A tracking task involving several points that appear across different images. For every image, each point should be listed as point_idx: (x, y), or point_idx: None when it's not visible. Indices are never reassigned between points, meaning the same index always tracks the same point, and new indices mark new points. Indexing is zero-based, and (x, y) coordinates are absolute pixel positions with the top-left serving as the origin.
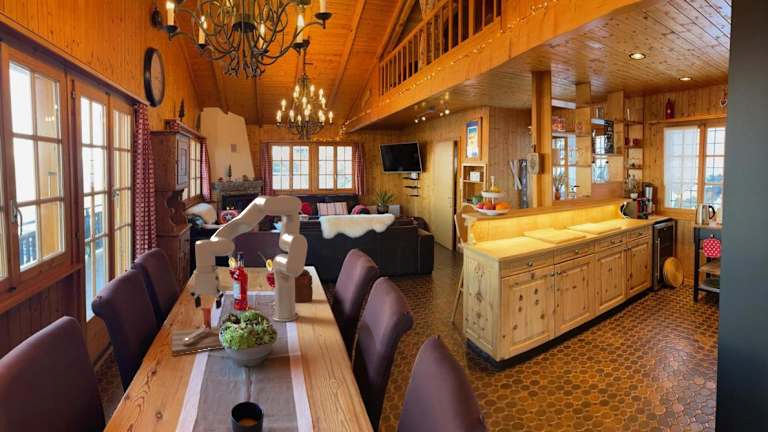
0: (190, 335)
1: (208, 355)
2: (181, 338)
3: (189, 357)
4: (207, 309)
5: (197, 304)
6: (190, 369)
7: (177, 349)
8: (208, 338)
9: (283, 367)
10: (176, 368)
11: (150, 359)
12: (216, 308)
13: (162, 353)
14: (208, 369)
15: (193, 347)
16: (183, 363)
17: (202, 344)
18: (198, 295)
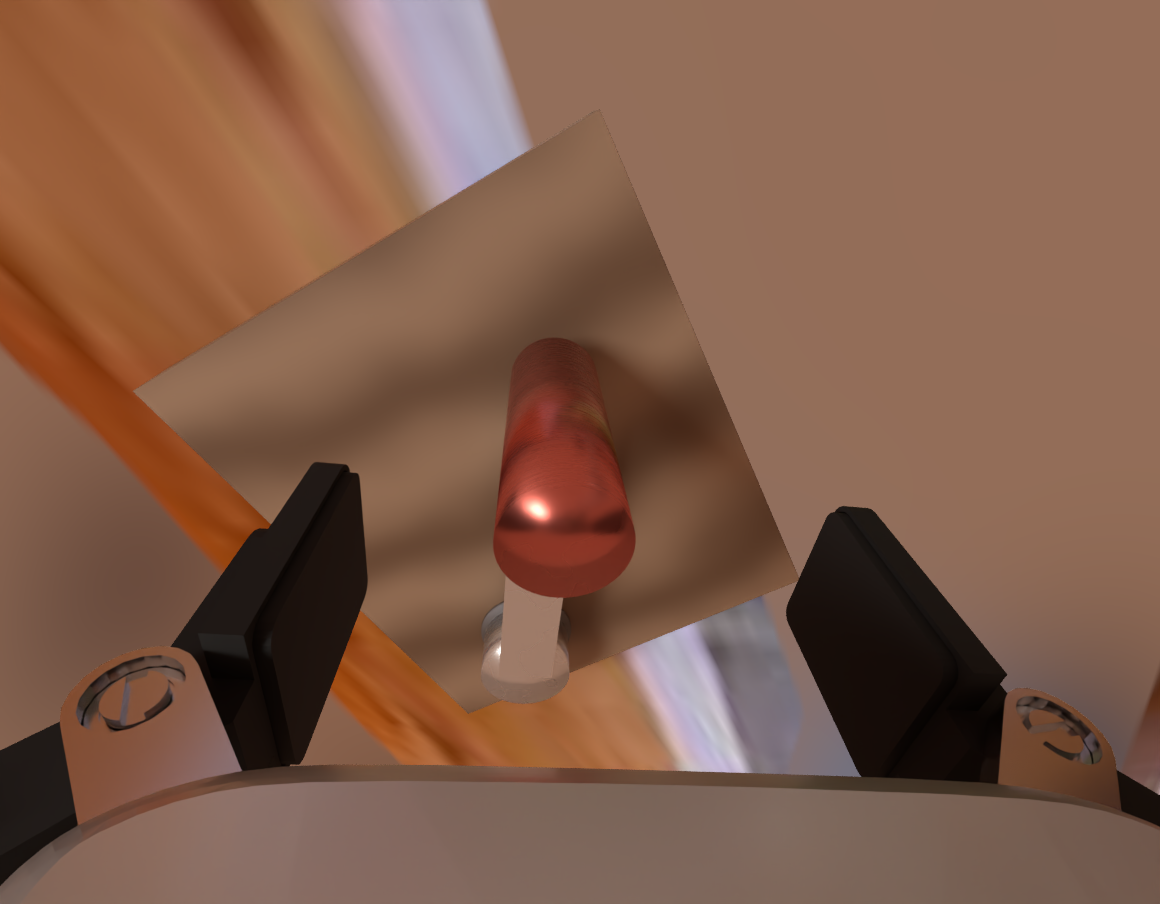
0: (511, 635)
1: (710, 652)
2: (377, 533)
3: (598, 685)
4: (594, 576)
5: (346, 632)
6: None
7: (492, 695)
8: (634, 509)
9: (1155, 711)
10: None
11: (369, 728)
12: (798, 628)
13: (378, 663)
14: (766, 766)
15: (591, 659)
16: (602, 739)
17: (636, 614)
18: (181, 751)
